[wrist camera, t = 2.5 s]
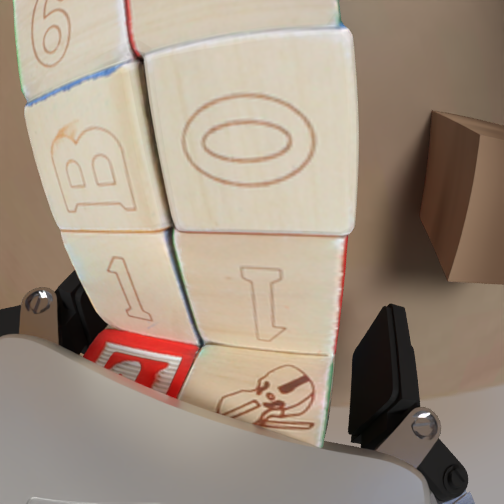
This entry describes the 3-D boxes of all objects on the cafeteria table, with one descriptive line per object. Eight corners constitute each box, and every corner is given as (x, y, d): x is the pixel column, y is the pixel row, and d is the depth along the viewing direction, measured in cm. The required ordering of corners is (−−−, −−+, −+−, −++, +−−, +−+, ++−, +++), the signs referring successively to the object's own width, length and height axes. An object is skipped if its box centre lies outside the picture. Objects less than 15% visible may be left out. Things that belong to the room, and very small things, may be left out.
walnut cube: (521, 130, 9) (584, 166, 5) (502, 225, 12) (545, 286, 8) (431, 109, 10) (479, 134, 6) (418, 215, 13) (447, 281, 9)
